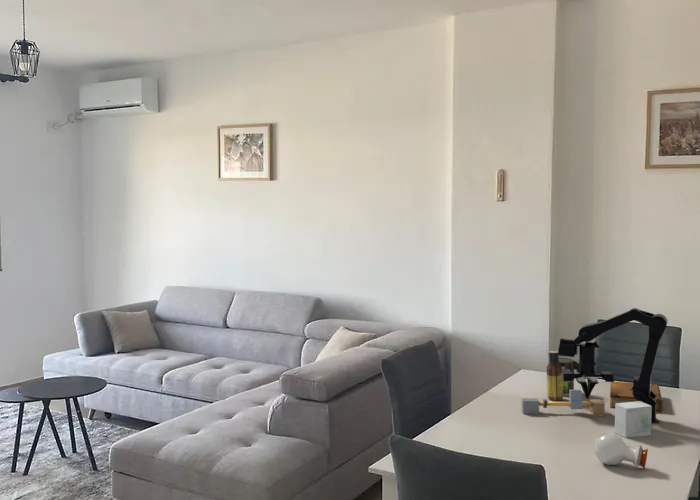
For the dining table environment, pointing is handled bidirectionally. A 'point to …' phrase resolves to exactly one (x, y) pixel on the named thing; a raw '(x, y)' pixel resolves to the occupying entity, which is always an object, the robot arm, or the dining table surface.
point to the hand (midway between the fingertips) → (586, 398)
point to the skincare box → (633, 419)
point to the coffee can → (566, 366)
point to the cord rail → (533, 405)
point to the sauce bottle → (554, 377)
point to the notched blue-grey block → (575, 399)
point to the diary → (630, 394)
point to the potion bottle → (618, 451)
